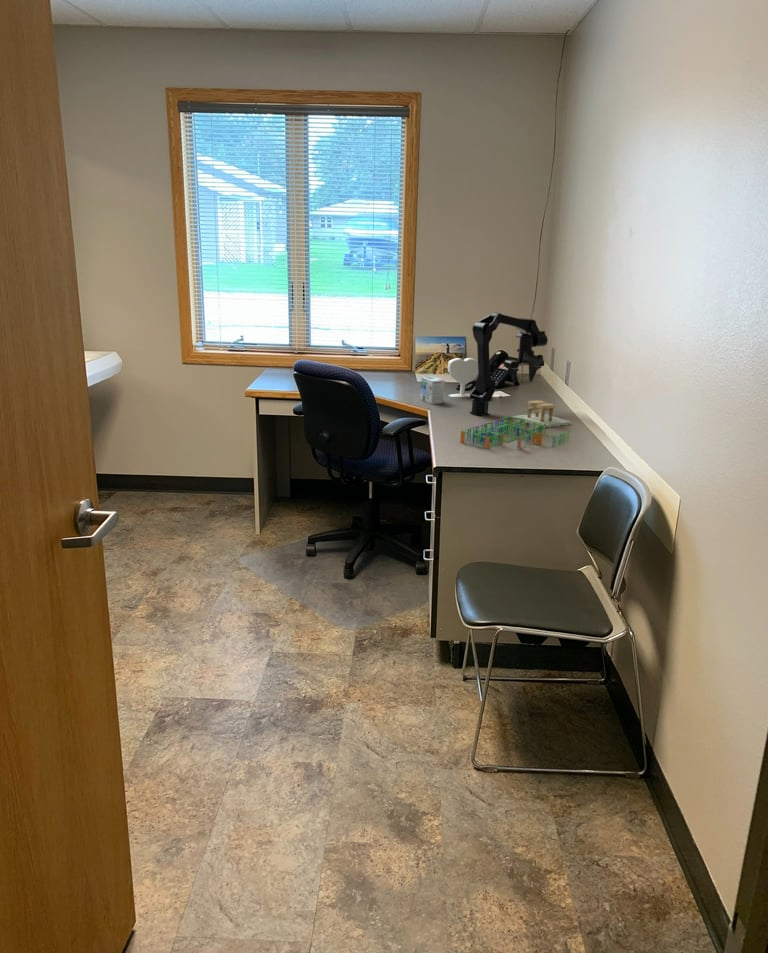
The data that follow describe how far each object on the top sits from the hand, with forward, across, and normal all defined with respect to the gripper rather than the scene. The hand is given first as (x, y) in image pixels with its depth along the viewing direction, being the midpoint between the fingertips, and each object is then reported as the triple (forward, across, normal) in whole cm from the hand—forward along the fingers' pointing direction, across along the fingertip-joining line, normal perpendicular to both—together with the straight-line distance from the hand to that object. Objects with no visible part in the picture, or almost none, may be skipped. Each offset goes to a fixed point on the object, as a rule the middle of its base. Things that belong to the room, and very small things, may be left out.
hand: (522, 382), depth 336 cm
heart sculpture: (+12, -9, +34) cm, 37 cm away
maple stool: (+11, -8, -23) cm, 27 cm away
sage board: (+12, -8, -23) cm, 27 cm away
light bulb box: (+12, -30, +28) cm, 43 cm away
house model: (+13, -37, -44) cm, 59 cm away
